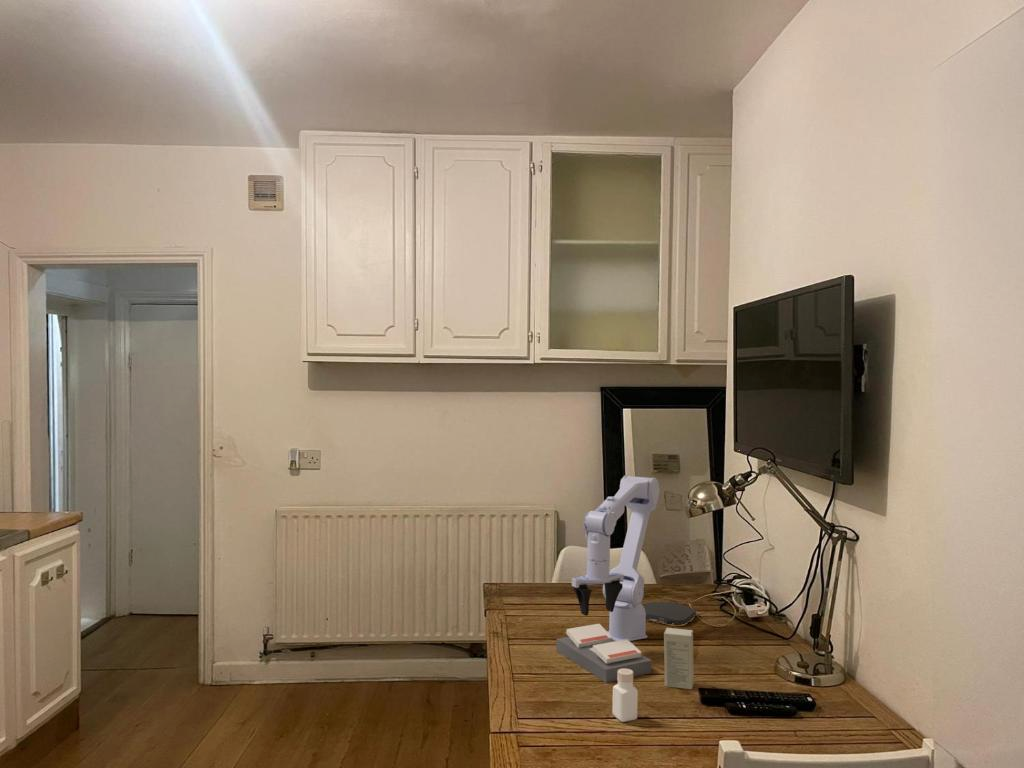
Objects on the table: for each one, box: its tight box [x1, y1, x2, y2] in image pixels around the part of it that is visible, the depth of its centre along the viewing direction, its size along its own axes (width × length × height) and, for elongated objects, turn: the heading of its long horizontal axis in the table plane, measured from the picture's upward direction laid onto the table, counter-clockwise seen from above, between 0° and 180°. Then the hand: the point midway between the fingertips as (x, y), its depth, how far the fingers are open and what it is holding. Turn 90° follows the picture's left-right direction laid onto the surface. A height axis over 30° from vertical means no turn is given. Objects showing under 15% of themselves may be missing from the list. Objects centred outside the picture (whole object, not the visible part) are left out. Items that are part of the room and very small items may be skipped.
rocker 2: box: [592, 639, 642, 664], centre depth 173 cm, size 10×6×1 cm, turn 118°
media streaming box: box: [642, 601, 697, 625], centre depth 214 cm, size 15×15×3 cm
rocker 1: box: [565, 623, 612, 648], centre depth 184 cm, size 10×6×1 cm, turn 118°
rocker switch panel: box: [555, 636, 652, 683], centre depth 179 cm, size 13×22×3 cm, turn 28°
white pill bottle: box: [612, 669, 639, 723], centre depth 149 cm, size 4×4×10 cm
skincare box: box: [663, 627, 695, 690], centre depth 166 cm, size 6×4×12 cm
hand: (597, 612), depth 184 cm, fingers open, 7 cm apart
